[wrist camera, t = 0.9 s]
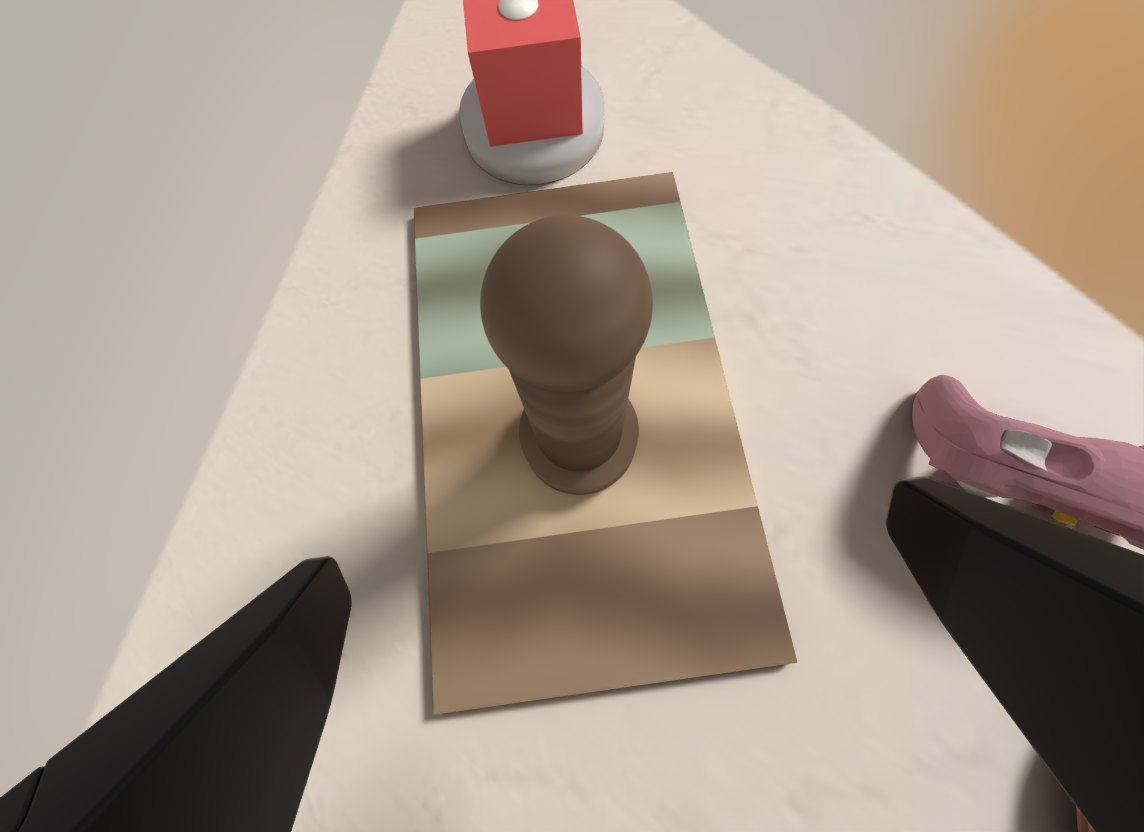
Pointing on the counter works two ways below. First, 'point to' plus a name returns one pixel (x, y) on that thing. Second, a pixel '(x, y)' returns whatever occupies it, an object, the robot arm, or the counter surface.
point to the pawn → (570, 345)
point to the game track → (593, 521)
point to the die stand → (529, 91)
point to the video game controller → (1031, 461)
